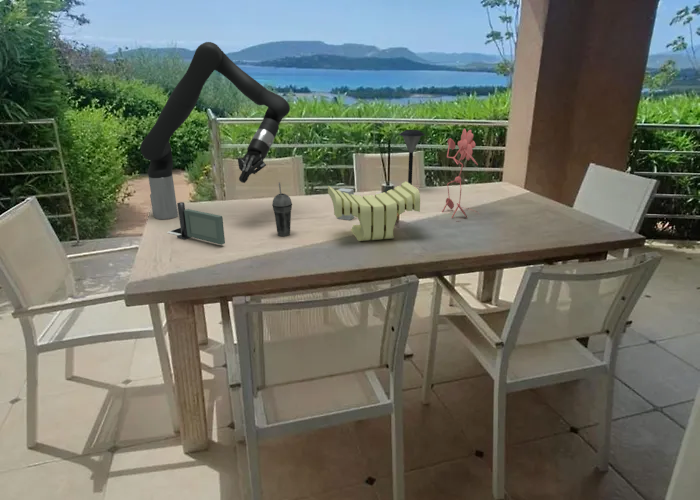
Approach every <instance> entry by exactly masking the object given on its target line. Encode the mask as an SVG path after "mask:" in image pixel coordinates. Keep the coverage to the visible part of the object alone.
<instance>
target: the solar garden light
mask: <svg viewBox="0 0 700 500" xmlns="http://www.w3.org/2000/svg"><path fill="white" fill-rule="evenodd" d="M398 135H399V136H401V137H402V138H403V140H404V143H405V145H406V147H407V150H408V171H407V173H408V175H407V182H408V183H410V184H411V185H412V186H413V162H414V152H415V149H416V148H417V146H418V143H419V141H420V140H421V137H422V136H426V134H425V133H423V132H422V131H420V130H418V129H406V130H403V131H402V132H400V133H399V134H398Z"/></svg>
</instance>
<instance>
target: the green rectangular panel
mask: <svg viewBox="0 0 700 500" xmlns="http://www.w3.org/2000/svg"><path fill="white" fill-rule="evenodd" d="M184 213H185V221H186V228H187V236H188V237H191V238H194V239H196V240H201V241H205V242H208V243H213V244H215V245H216V244H217V245H220V246H222V245H224V244H226V238H225V231H224V220H223V216H222V215H220V214H215V213H214V214H213V213H209V212H204V211H201V210H200V211H199V210H195V209H191V208H190V209H189V208H185V210H184Z"/></svg>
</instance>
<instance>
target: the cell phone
mask: <svg viewBox="0 0 700 500" xmlns="http://www.w3.org/2000/svg"><path fill="white" fill-rule="evenodd" d="M166 234H170V235H174V236H178V235H181V227H180V226H179V227H178V228H174V229H173V230H169V231H167V232H166Z"/></svg>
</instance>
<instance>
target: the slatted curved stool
mask: <svg viewBox="0 0 700 500" xmlns="http://www.w3.org/2000/svg"><path fill="white" fill-rule="evenodd" d="M327 193H328V196H329V197H330V199H331V201H332V205H333V214H334V216H335V218H336V219H337V218H338V217H341V216H342V214H344V215H345V216H346V215H350V214H352V215H353V216H354V218H355V217H356V218H357V219H358V221H359V224H353V225H352V228H351V229H350V231H351V233H352V234H353V235H354V236H355V238H356V240H357V241H358V242H366V241H376V240H377V241H378V240H390V239H394V228H395V224H396V222H397V219H398V215H399V216H400V215H402V214H404V213H405V211H407V212H413V211H414V212H418V213H419V212H421V193H420V191H419V189H418V188H417V187H415V186H414V185H413V184H412V185H411V184H410V183H408V180H407V181H406V180H405V181H404V182H402V183H401V184H400V185H398V186H395V187H393V189H389V190H387V191H386V192H384V191H383V192H380V193H376V194H374V195H372V194H371V195H370V194H369V195H362V196H361V195H359V194H358V195H357V194H354V195H352V194H350V195H351V196H350V195H349V194H348V193H344V192H343V194H342V192H341V191H339V190H338V189H334V187H333V186H332V187H331V186H330V185H328V186H327Z"/></svg>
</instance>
